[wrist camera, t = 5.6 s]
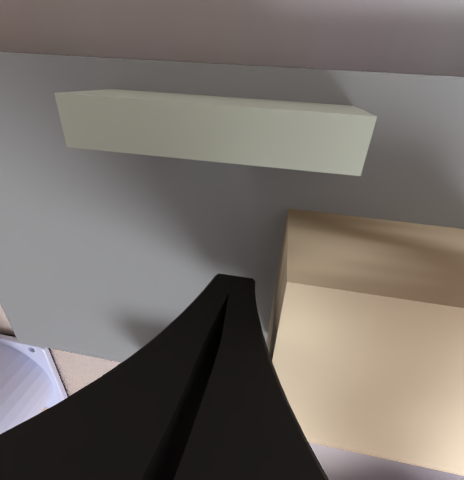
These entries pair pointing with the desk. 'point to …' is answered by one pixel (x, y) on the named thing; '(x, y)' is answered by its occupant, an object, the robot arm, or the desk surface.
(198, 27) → the desk surface
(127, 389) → the robot arm
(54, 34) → the desk surface
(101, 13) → the desk surface
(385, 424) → the maple block
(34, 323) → the tunnel deck
